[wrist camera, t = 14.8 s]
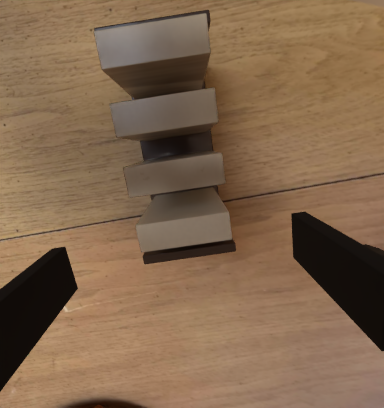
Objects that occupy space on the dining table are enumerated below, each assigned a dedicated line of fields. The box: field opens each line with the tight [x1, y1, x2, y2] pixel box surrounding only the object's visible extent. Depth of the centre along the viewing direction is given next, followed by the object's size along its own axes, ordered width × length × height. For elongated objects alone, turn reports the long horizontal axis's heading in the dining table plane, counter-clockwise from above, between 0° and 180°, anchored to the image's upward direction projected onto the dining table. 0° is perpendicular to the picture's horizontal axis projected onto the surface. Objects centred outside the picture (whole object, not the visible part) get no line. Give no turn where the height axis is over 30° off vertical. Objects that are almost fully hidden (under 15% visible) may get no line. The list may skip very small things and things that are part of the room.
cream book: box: [136, 187, 232, 252], centre depth 23 cm, size 2×7×11 cm, turn 98°
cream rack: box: [94, 10, 236, 264], centre depth 22 cm, size 18×8×12 cm, turn 8°
